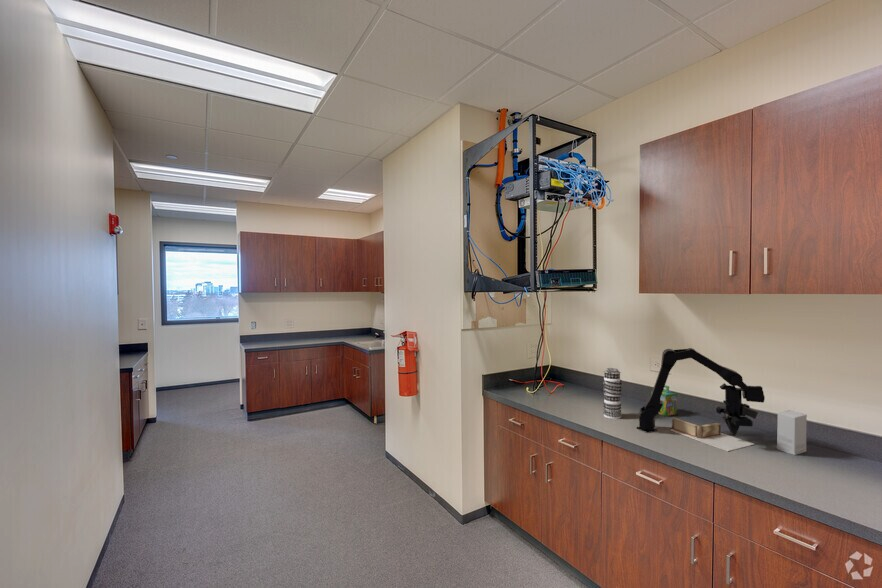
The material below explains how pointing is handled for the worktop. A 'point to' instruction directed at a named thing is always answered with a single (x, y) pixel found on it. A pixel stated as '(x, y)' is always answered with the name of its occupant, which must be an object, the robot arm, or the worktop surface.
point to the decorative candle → (612, 393)
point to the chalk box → (668, 402)
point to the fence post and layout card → (715, 440)
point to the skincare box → (791, 432)
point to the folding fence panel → (711, 429)
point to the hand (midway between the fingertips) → (733, 435)
